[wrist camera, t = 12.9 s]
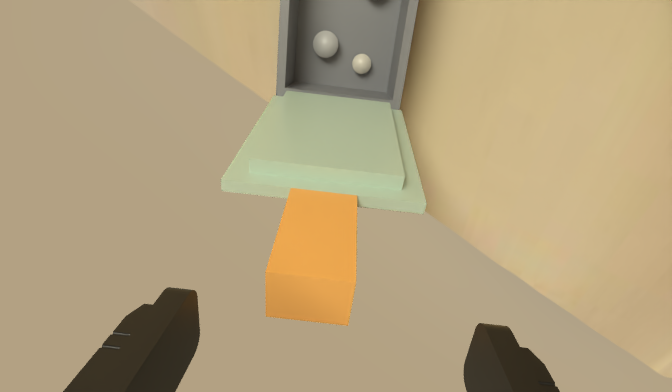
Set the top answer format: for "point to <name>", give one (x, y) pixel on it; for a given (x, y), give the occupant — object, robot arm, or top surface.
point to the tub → (345, 48)
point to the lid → (323, 193)
